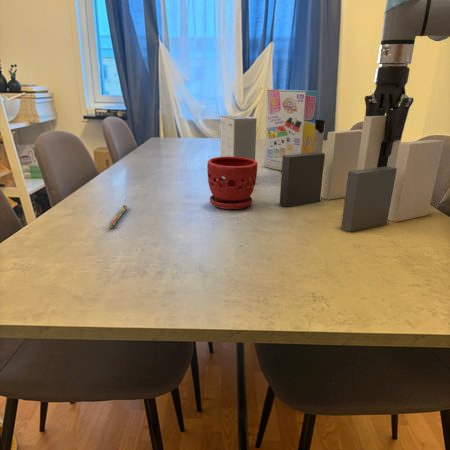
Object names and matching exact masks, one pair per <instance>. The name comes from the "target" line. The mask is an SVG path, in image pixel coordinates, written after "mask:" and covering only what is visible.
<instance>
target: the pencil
mask: <svg viewBox="0 0 450 450" xmlns="http://www.w3.org/2000/svg"><path fill="white" fill-rule="evenodd" d="M127 208H128V206H127V205H126V204H122V206H121V208H120V209H119V210H118V212H117V213H116V215H115V216H114V217H113V218H112V219H111V221H110V223H109V224H108V229H109V230H110V229H113V228H114V227H115V225H116V224H117V222H118V221H119V220H120V218H121V217H122V216H123V214H124V213H125V212H126V210H127Z"/></svg>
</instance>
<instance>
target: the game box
mask: <svg viewBox="0 0 450 450" xmlns="http://www.w3.org/2000/svg"><path fill="white" fill-rule="evenodd" d="M318 98H319V90H303V89H302V90H301V89H267V90H266V117H265V144H264V145H265V149H264V167H265V168H269V169H272V170H275V171H280V172H282V158H283V155H293V154H303V153H313V145H314V133H315V121H316V120H317V109H318Z"/></svg>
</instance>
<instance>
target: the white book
mask: <svg viewBox="0 0 450 450" xmlns="http://www.w3.org/2000/svg"><path fill="white" fill-rule="evenodd" d="M385 123H386V114H385V116H366V117H365V116H364V117H363V123H362V129H361V130H362V136H361V143H360V150H359V157H358V164H357V170H362V169H370V168H377V166H378V160H379V154H380V148H381V143H382V141H383V140H384V138H385ZM402 137H403V136H402ZM402 137H401V139H400V140H398V141H395V142H394V143H393V146H392V151H391V155H390V156H389V157H388V163H387V166H388V167H393V168H395V166H396V160H397V155H398V149H399V144H400V143H401V142H402Z"/></svg>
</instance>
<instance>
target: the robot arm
mask: <svg viewBox="0 0 450 450" xmlns="http://www.w3.org/2000/svg"><path fill="white" fill-rule="evenodd" d="M416 37H427V38H428V39H430V40H431V41H434V42H442V41H445V40H447V39H448V38H450V0H386V4H385V10H384V15H383V22H382V31H381V37H380V45H379V51H378V57H377V64H378V65H379V66H378V67H377V68H376V71H375V77H374V84H375V88H374V90H373V93H372V94H370V95H365V96H364V103H365V113H364V115H365V116H364V117H366V116H385V115H386V123H385V138H384V140H383V141H382V143H381V148H380V154H379V160H378V166H377V167H385V166H387V163H388V157H389V156H390V155H391V151H392V146H393V143H394V142H395V141H398V140H400V139H401V140H402V138H401V137H403V133H404V130H405V126H406V122H407V119H408V115H409V111H410V108H411V106H412V104H413V103H414V100H415V99H414V97H409V95H407V94H406V85H407V84H408V83H409V76H410V71H411V69H410V66H409V65H411V64H412V60H413V56H414V55H413V53H414V49H415V42H416Z"/></svg>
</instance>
